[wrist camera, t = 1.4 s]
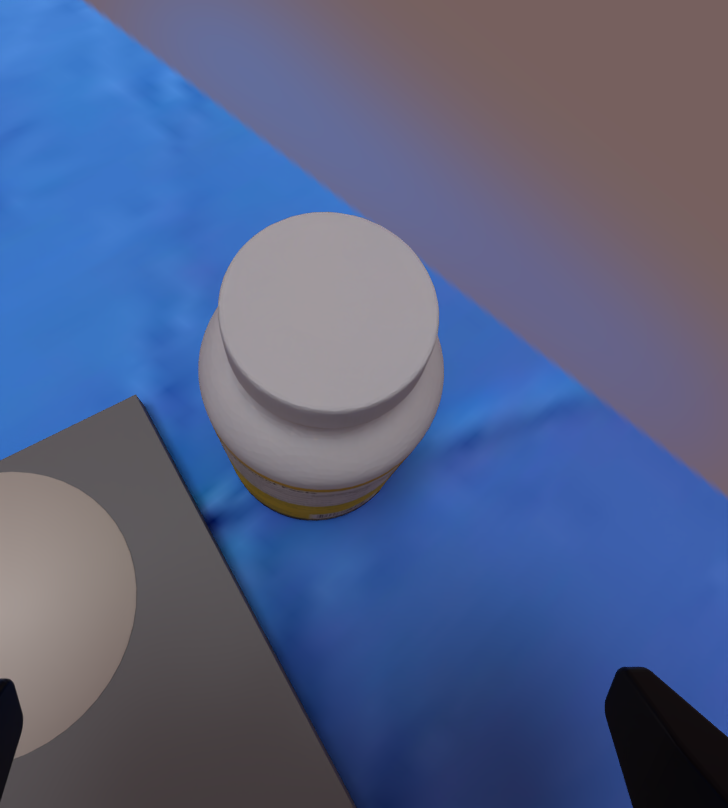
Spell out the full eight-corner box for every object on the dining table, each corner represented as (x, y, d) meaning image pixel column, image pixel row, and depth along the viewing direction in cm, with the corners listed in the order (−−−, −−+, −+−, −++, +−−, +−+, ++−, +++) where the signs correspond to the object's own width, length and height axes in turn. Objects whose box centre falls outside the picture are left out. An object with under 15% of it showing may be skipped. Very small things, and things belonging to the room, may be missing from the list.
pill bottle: (331, 335, 25) (361, 128, 14) (428, 458, 24) (544, 339, 13) (196, 422, 23) (108, 265, 12) (294, 560, 22) (295, 524, 11)
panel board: (437, 961, 19) (447, 986, 17) (64, 1279, 16) (45, 1336, 14) (143, 404, 23) (134, 393, 22) (-193, 570, 20) (-225, 568, 19)
